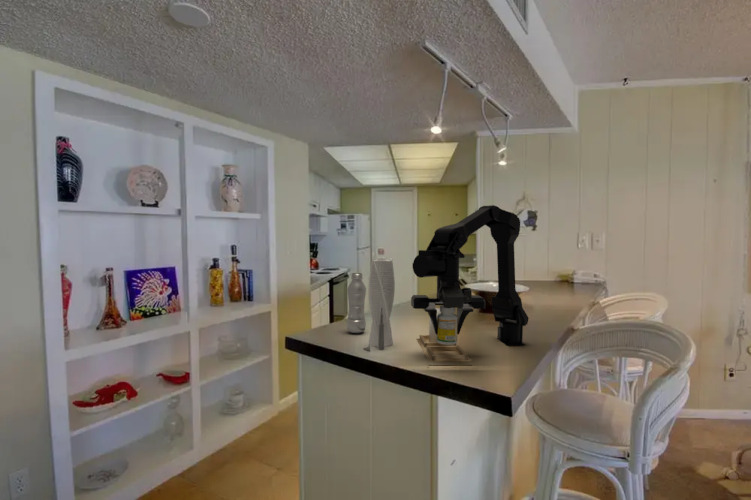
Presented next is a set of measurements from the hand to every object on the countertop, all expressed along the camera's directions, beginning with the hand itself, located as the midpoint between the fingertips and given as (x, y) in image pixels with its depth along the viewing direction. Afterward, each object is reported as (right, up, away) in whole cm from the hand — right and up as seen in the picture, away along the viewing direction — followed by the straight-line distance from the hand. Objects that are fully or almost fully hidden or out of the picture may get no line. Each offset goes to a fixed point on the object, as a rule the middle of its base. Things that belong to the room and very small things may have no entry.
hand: (447, 334), depth 105 cm
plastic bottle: (-25, -6, +28) cm, 38 cm away
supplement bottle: (0, -2, 0) cm, 2 cm away
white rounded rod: (-1, -5, +12) cm, 13 cm away
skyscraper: (-18, -7, +9) cm, 21 cm away
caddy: (0, -7, +6) cm, 9 cm away
